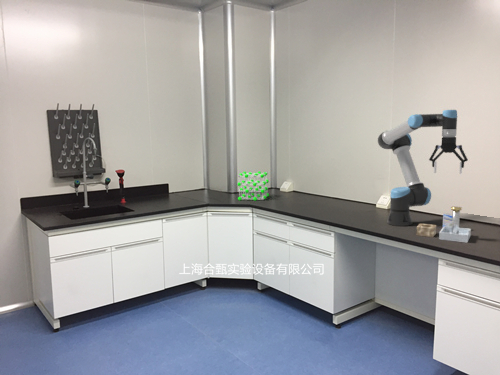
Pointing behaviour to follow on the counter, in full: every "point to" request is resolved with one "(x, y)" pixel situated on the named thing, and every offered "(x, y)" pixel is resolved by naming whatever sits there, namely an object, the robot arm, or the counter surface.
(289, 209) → the counter surface
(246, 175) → the molecular structure model
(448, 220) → the medicine box
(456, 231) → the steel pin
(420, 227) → the holder block
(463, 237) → the tray
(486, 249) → the counter surface
